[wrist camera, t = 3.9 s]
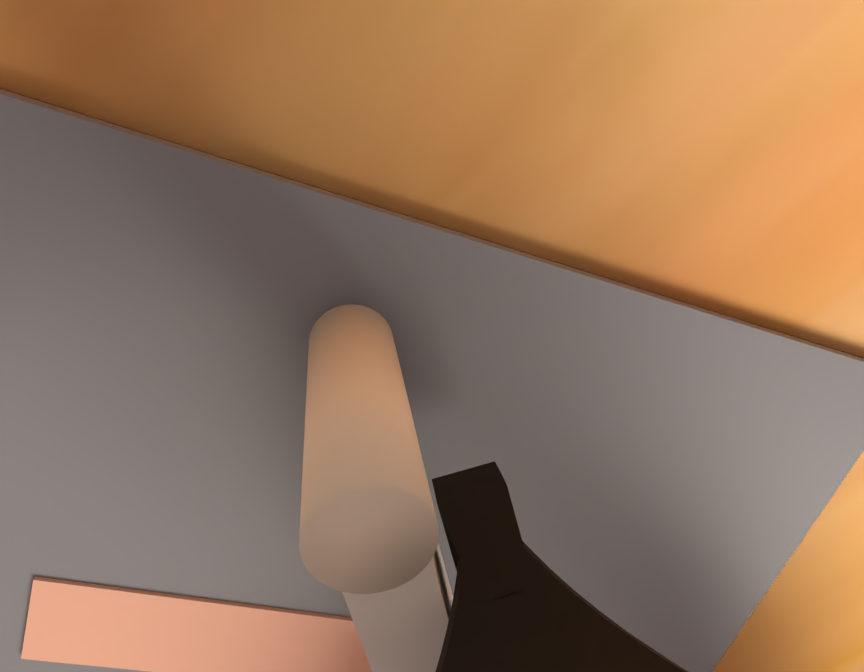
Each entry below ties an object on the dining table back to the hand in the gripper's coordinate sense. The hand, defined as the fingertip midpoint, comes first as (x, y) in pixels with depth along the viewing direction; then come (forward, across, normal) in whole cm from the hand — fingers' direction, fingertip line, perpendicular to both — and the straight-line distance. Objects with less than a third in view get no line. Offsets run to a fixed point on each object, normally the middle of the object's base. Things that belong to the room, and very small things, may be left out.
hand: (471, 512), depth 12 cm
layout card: (+3, +3, +6) cm, 7 cm away
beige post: (+2, +1, +2) cm, 3 cm away
